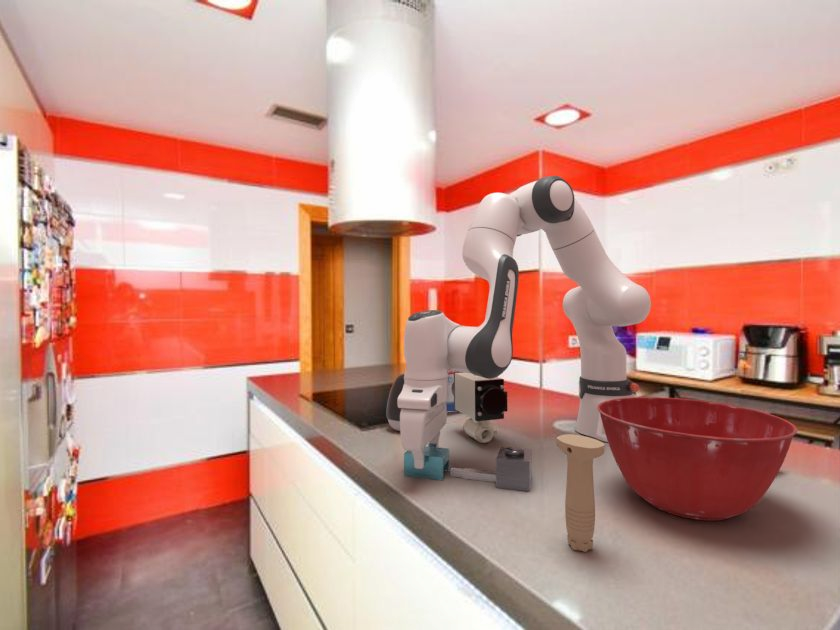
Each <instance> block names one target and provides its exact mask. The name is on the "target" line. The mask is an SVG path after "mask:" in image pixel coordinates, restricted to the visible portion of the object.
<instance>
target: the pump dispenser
mask: <svg viewBox="0 0 840 630" xmlns="http://www.w3.org/2000/svg"><path fill="white" fill-rule="evenodd" d="M404 374H405V373H401V374H399V375H398V376H397V377H396V378H395V380H394V381H393V383H392V385H391V388H390V390H389V394H388V398H387V403H386V411H385V412H386V413H385V414H386V415H385V416H386V418H387V421H388V424H389V426H390V427H391V428H392V429H393V430H395V431H397V432H400V412H401V409H402V408H398V405H397V399H398V396H399V395H400V393H401V391H402V389H403V385H404Z"/></svg>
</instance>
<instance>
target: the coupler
mask: <svg viewBox="0 0 840 630" xmlns="http://www.w3.org/2000/svg"><path fill="white" fill-rule="evenodd" d="M495 461H496V462H495V464H496V465H495V468H496V469H495V470H486V469H479V468H478V469H477V468H468V467H467V468H466V467H465V468H461V467H460V468H459V467H451V468H450V470H449V471H450V472H449V473H450V477H453V478H454V477H455V478H462V479H466V480H474V481H482V482H483V481H484V482H489V483H490V482H493V483H495V484H496V485H495V486H496V487H495V489H503V490H511V491H521V492H527V493H528V492H531V485H532V478H533V449H531V448H523V447H518V446H507V447H506V446H501V447H500V448H499V451H498V454H497V455H496V458H495Z"/></svg>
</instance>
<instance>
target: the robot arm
mask: <svg viewBox="0 0 840 630" xmlns="http://www.w3.org/2000/svg"><path fill="white" fill-rule="evenodd" d="M467 229H468V230H467V232H466V236H465V238H464V241H463V244H462V245H463V246H462V252H461V253H462V255H461V256H462V259H463V262H464V264H465V266H466V267H467V268H468V269H469V270H470V271H471V272H472V273H473V274H475V275H476V276H478V277H480V278H481V279H483V280H486V281H487V282H488V285H489V290H488V291H489V292H488V298H487V306H486V310H485V311H486V312H485V318H484V321H483V322H482V323H481V324H480V325H479V326H468V325H467V326H466V325H460V323H457V322H454V321H452V320H451V319H450V318H448V317H447V316H446V315H445V313H444V312H443V311H442V310H438V309H431V310H429V309H428V310H423V311H417V312H414V313H413V314H411V315H410V316H408V318H407V319H406V322H405V327H404V333H403V334H404V336H403V337H404V338H403V357H404V360H405V361H404V362H405V371H404V373H403V374H404V385H403V389H402V391H401V393H400V395H399V396H398V399H397V405H398V408H402V409H401V412H400V431H399V433H400V443H401V446H402V448H403V450H404V451H407V450H408V451H412V455H413V457H414V466H415V468H419V469H422V468H423V467H424V466H425V457H424V453H423V451H424V447H425V446H426V447H437V448H439V440H440V435H441V430H442V429H443V427H444V426H446V424H447V420H448V413H447V408H446V401H447V400H448V373H447V371H448V370H449V369H451V370H456V371H459V372H465V373H471V374H474V375H477V376H480V377H484V378H487V379H492V378H496V377H498V378H499V376H500V375H502V374H503V373H504V372H505V371H506V370H507V369H508V368H509V366H510V364H511V362H512V360H513V354H514V343H513V340H514V339H513V331H514V330H513V329H514V322H515V314H516V313H515V312H516V307H517V305H516V304H517V297H518V296H517V295H518V289H519V276H520V272H519V271H520V270H519V265H518V263H517V261H516V260H515V259H514V258H513V257H514V256H513V255H514V248H515V245H516V240H517V237H521V236H523V235H526V234H531V233H535V232H538V231H540V230H542V231H544V232H545V236H546V238H547V240H548V243H549V245H550V248H551V249H552V251H553V253H554V256H555V258H556V260H557V262H558V265H559V266H560V268H561V270H562V273H563V274H564V275H565V276H566V278H568V279H569V280H572V281H573V282H574V283H575V284H577V285H578V286H577V287H573V288H571V289H570V290H568V291H567V292H566V293H565V294H564V296H563V300H562V310H563V312H564V315H565V316H566V318H567V319H569V320H570V322H571V324H572V325H573V329H574V330H575V332H576V337H577V339H578V344H579V350H580V376H579V381H578V396H579V408H578V414H577V419H576V422H575V425H574V430H575V431H576V432H577V433H579V434H582V435H583V436H584V435H585V436H586V437H590V438H593V439H596V440H599V441H601V442H607V443H608V440H607V437H606V434H605V430H604V427H603V423H602V419H601V415H600V412H599V411H598V409H597V406H598V405H599V404H600V403H601V402H604V401H607V400H612V399H618V398H629V397H639V396H637V395H636V394H635V393H637V392H638V391H640V386H639V385H638V383H636V382H635V381H631V380H630V379H628V378H627V349H626V347H625V346H624V344H622V343H621V341H619V340H618V338H617V336H616V335H615V332H614V329H613V327H627V326H632V325H638V324H640V323H642V322H644V321H645V320H646V319H647V317H648V316H649V314H650V312H651V307H652V300H651V297H650V294H649V293H648V291H647V289H646V288H644V286H642V285H639V284H638V283H636V282H634V281H632V280H631V279H630V278H629V277H628V276H626V275H625V274H624V273H623V272H622V271H621V270H620V269H619V268H618V267H617V266H616V265H615V263H614V262H613V261H612V260H611V258H609V255H608V254H607V253H606V251H605V249H604V247H603V245H602V243H601V241H600V238H599V237H598V234H597V232H596V230H595V228H594V226H593V224H592V222H591V220H590V218H589V216H588V215H587V213H586V211H585V210H584V209H583V207H582V205H581V204H580V203H579V201H578V200H577V199H576V198H575V195H574V191H573V188H572V186H571V185H570V183H569V182H568V181H566V180H565V179H564V178H562V177H561V176H559V175H548V176H543V177H541V178H539V179H538V180H535V181H531V182H529V183H526V184H524V185H522V186H520V187H519V188H518V189H516V190H514V191H512V192H510V194H507V193H505V192H504V193H503V192H492V193H489V194H487V195H485V196H484V197H483V198H482V200H481V201H480V203H479V204H478V207H477V209H476V210H475V212H474V214H473V216H472V219H471V221H470V224H469V226H468V228H467Z"/></svg>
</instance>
